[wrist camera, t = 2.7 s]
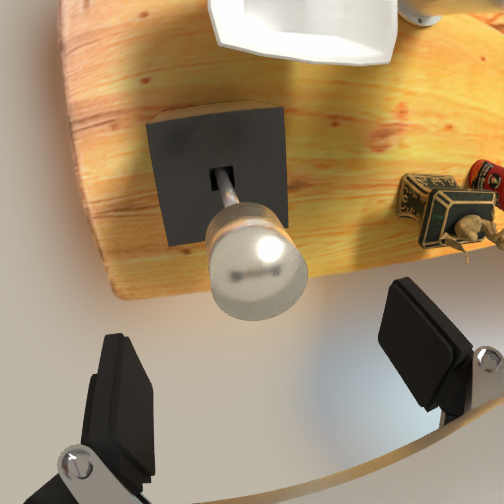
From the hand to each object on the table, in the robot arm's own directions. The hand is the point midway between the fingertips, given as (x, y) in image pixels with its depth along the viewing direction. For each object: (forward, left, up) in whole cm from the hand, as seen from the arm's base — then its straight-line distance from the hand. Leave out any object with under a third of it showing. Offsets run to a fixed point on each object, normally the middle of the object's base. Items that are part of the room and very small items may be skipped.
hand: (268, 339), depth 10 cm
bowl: (-19, +10, -34) cm, 41 cm away
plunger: (0, 0, -23) cm, 23 cm away
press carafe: (+1, 0, -34) cm, 34 cm away
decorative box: (+11, +35, -34) cm, 50 cm away
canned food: (+8, +52, -34) cm, 63 cm away
